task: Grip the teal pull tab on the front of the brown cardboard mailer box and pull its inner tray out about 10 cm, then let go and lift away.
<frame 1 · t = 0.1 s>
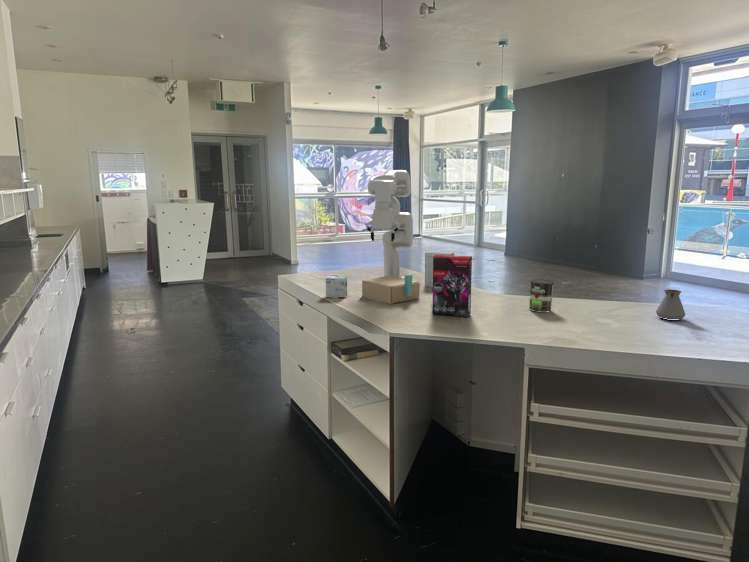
hand: (382, 240, 255), 31 cm above the countertop, tool pointing down, fingers open, 9 cm apart
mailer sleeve: (390, 297, 271), on the countertop
light bulb box: (336, 297, 273), on the countertop
hard drive box: (439, 287, 299), on the countertop
coffee can: (540, 310, 245), on the countertop
graphics card box: (451, 315, 237), on the countertop
coffee pot: (669, 321, 226), on the countertop
mailer tray: (393, 284, 268), point 7 cm above the countertop, slide at 0.0 cm
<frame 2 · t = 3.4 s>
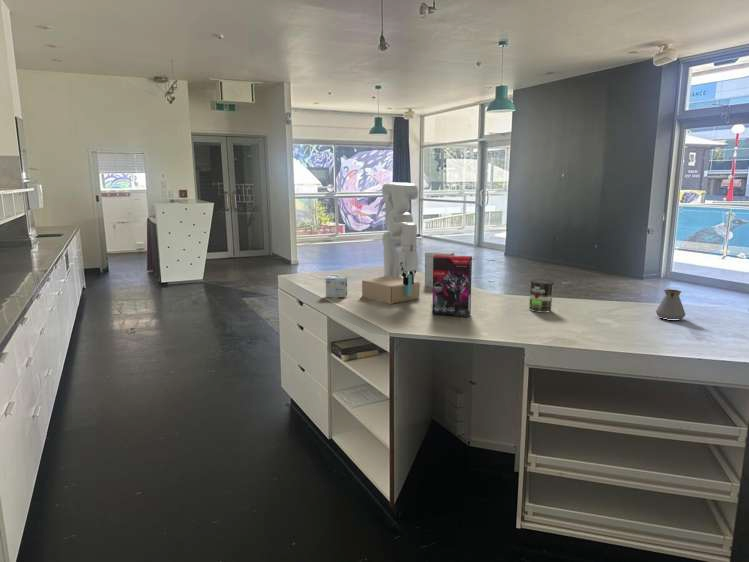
hand: (408, 284, 260), 9 cm above the countertop, tool pointing down, fingers closed on mailer tray, 3 cm apart
mailer tray: (393, 284, 268), point 7 cm above the countertop, slide at 0.0 cm, touching gripper
everything else where it was.
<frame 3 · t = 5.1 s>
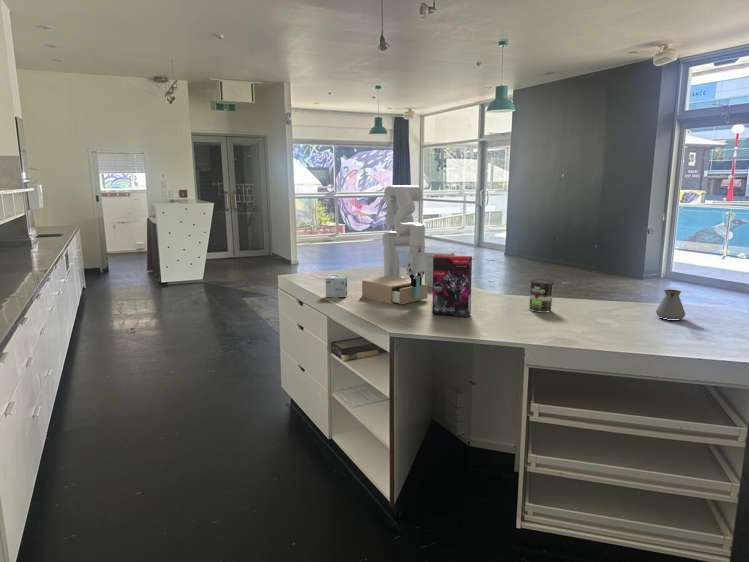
hand: (416, 285, 256), 9 cm above the countertop, tool pointing down, fingers closed on mailer tray, 3 cm apart
mailer tray: (400, 285, 264), point 7 cm above the countertop, slide at 5.5 cm, touching gripper
everything else where it was.
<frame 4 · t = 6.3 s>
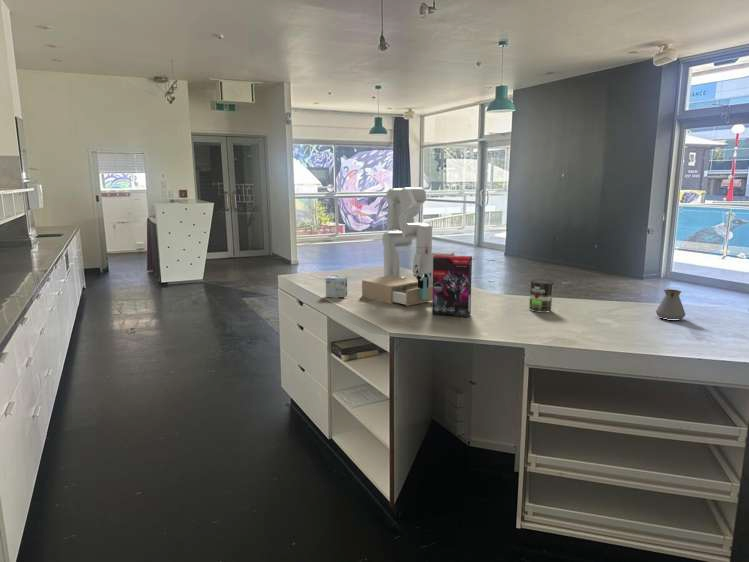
hand: (423, 287, 252), 9 cm above the countertop, tool pointing down, fingers closed on mailer tray, 3 cm apart
mailer tray: (407, 287, 260), point 7 cm above the countertop, slide at 10.1 cm, touching gripper
everything else where it was.
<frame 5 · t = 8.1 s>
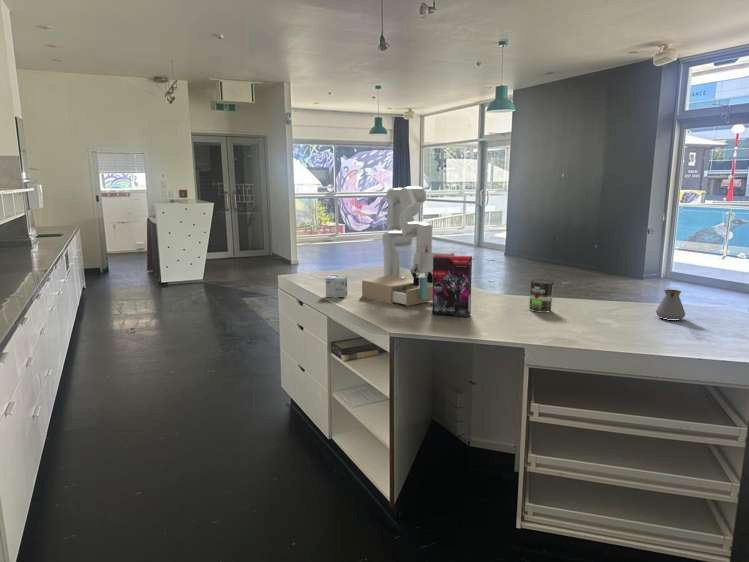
hand: (423, 283, 252), 11 cm above the countertop, tool pointing down, fingers open, 9 cm apart
mailer tray: (407, 287, 260), point 7 cm above the countertop, slide at 10.2 cm
everything else where it was.
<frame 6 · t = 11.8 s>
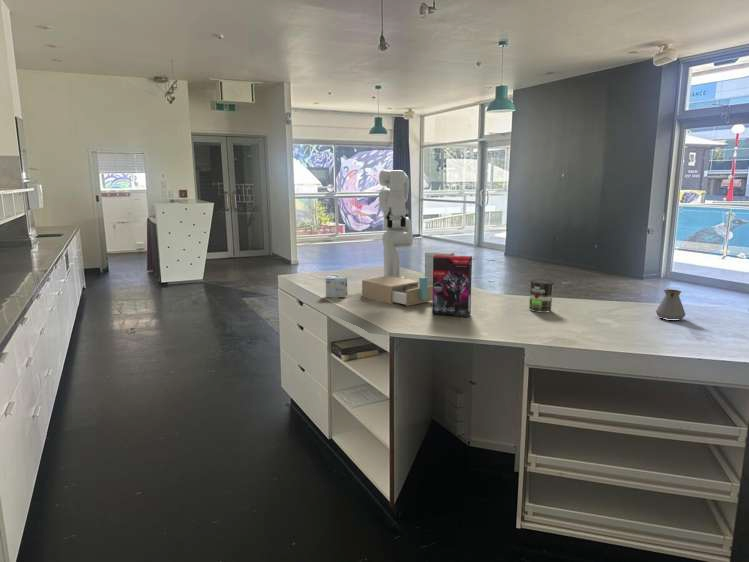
hand: (396, 227, 272), 36 cm above the countertop, tool pointing down, fingers open, 9 cm apart
nothing on the countertop moved.
at the end: mailer tray slide at 10.2 cm; the gripper is holding nothing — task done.
